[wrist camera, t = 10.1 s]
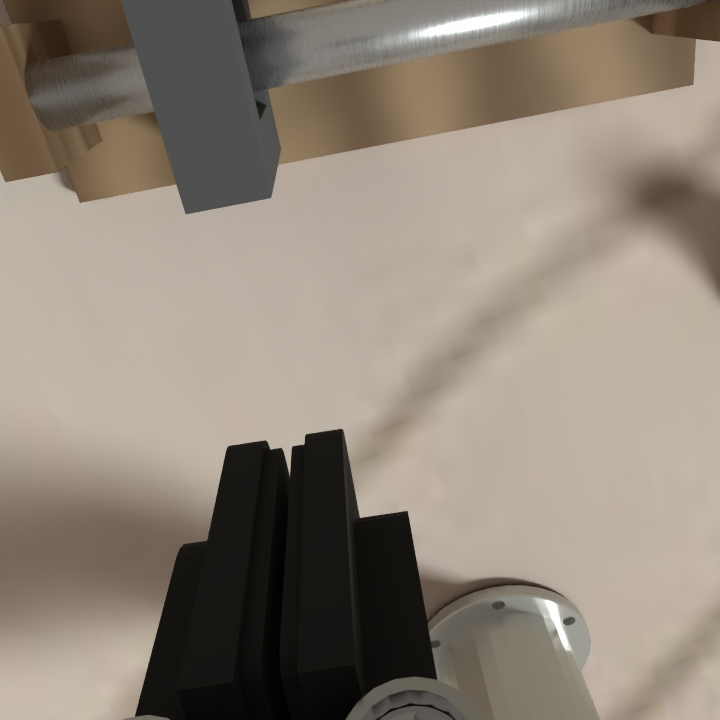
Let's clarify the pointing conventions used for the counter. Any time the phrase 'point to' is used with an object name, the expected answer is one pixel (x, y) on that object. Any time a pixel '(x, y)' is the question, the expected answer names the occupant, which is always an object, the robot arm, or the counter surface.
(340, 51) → the steel pipe
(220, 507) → the robot arm
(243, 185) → the rubber collar
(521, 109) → the pipe stand
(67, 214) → the counter surface
